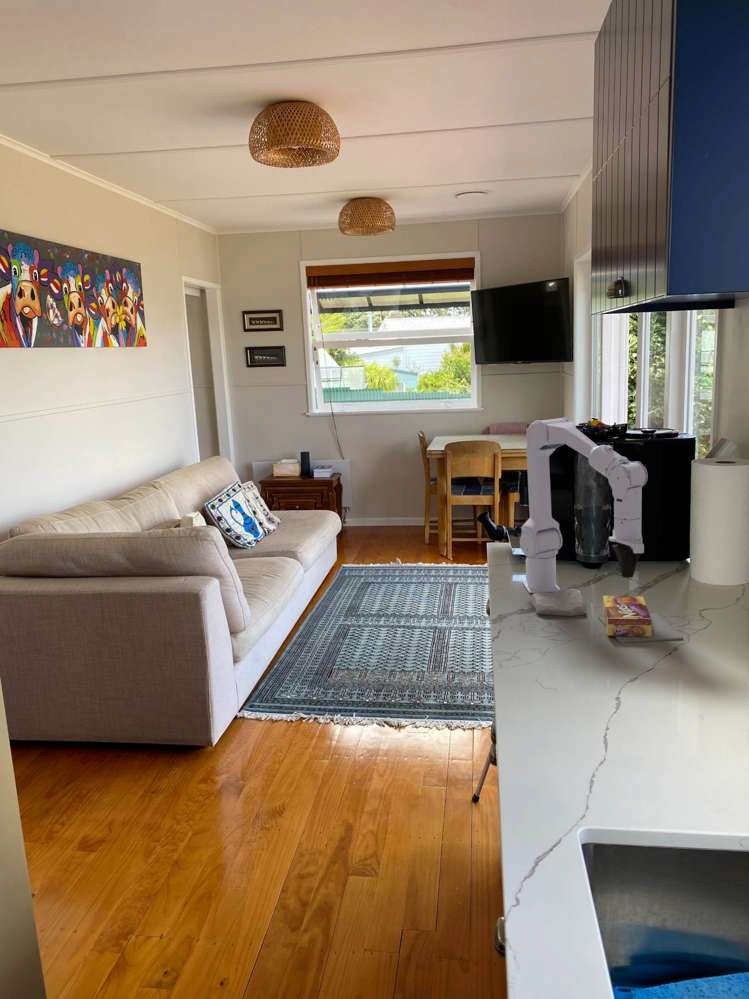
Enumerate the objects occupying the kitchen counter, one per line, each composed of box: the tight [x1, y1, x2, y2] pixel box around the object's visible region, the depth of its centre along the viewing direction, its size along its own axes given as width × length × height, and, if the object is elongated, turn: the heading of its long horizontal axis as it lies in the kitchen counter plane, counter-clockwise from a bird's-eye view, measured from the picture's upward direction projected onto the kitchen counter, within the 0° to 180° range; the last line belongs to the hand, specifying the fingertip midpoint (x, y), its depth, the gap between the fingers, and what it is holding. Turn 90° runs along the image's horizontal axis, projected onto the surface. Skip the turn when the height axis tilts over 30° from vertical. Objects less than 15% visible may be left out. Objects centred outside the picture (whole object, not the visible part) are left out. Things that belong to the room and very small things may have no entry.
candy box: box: [602, 595, 652, 637], centre depth 162 cm, size 9×4×15 cm
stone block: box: [530, 588, 587, 617], centre depth 175 cm, size 12×5×10 cm
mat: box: [598, 613, 684, 644], centre depth 161 cm, size 15×13×1 cm
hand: (627, 576), depth 166 cm, fingers closed
